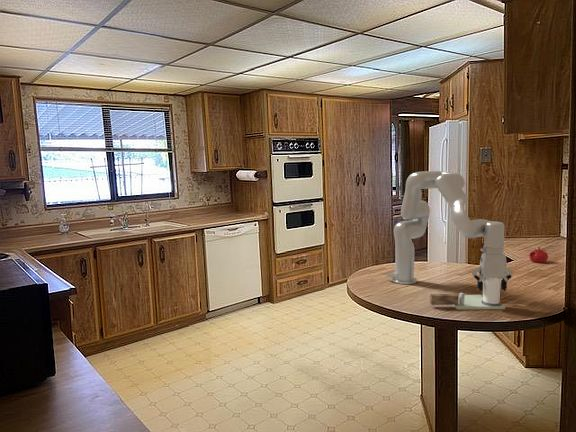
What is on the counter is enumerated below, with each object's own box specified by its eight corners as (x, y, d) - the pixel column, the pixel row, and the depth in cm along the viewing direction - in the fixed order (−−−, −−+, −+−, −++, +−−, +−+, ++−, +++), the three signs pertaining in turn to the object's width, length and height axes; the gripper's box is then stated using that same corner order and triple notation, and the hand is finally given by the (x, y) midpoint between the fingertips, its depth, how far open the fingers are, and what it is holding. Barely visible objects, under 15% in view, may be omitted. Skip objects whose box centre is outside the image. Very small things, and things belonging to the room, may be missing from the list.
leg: (456, 302, 188) (456, 293, 188) (458, 304, 186) (458, 295, 185) (430, 303, 189) (430, 294, 188) (431, 304, 186) (432, 295, 186)
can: (480, 300, 191) (480, 273, 189) (494, 299, 191) (495, 272, 189) (487, 305, 184) (488, 277, 183) (502, 304, 185) (503, 276, 183)
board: (456, 309, 184) (457, 292, 183) (444, 297, 200) (445, 282, 199) (505, 309, 183) (505, 292, 183) (489, 297, 199) (489, 281, 198)
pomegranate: (548, 261, 265) (549, 246, 264) (547, 264, 257) (548, 249, 256) (529, 259, 270) (530, 244, 269) (528, 262, 262) (529, 247, 261)
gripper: (476, 253, 181) (474, 292, 183) (518, 252, 181) (516, 292, 183) (469, 249, 189) (468, 287, 191) (510, 248, 188) (508, 287, 190)
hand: (491, 290), depth 187 cm, fingers open, 9 cm apart
